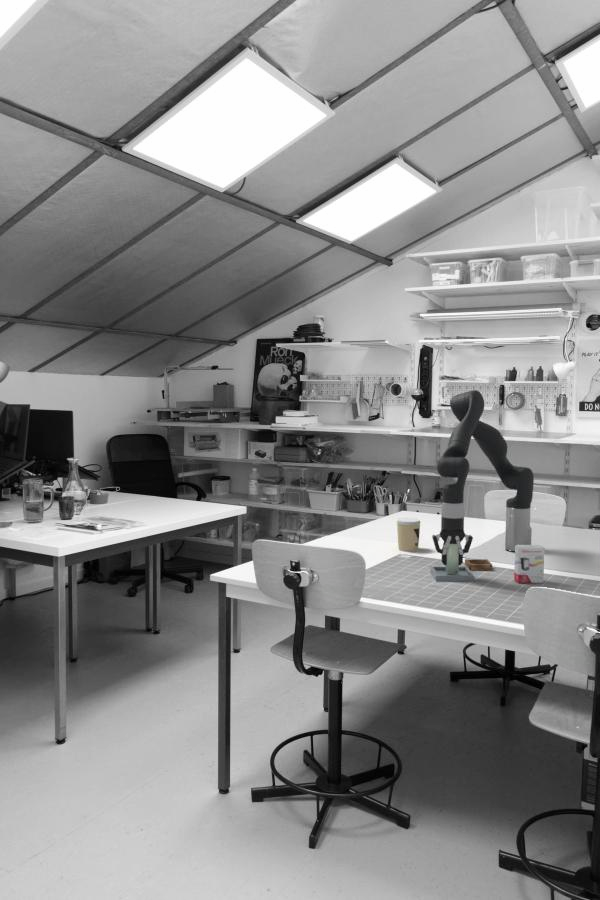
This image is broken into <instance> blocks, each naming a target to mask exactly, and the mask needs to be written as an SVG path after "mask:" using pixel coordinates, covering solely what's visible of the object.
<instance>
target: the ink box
mask: <svg viewBox="0 0 600 900" xmlns="http://www.w3.org/2000/svg"><path fill="white" fill-rule="evenodd" d="M513 571H514V572H513V573H514V574H513V576H514V577H513V579H514V581H516V582H517V583H520V584H521V583H522V584H523V583H525V584H527V583H528V584H529V583H530V584H535V583H536V584H537V583H539V584H540V583H541V584H542V583H544V581H545V580H544V578H545V577H544V576H545V547H544V546H542V545H540V544H539V545H538V544H531V545H516V546H515V552H514V570H513Z"/></svg>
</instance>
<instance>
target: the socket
mask: <svg viewBox="0 0 600 900" xmlns="http://www.w3.org/2000/svg"><path fill="white" fill-rule="evenodd" d="M464 566H465V567H468V569H469V570H470V571H493V564H492V562H490V560H488V559H486V558H485V559H484V558H483V559H481V558H479V559H478V558H475V559H474V558H465V559H464Z"/></svg>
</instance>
